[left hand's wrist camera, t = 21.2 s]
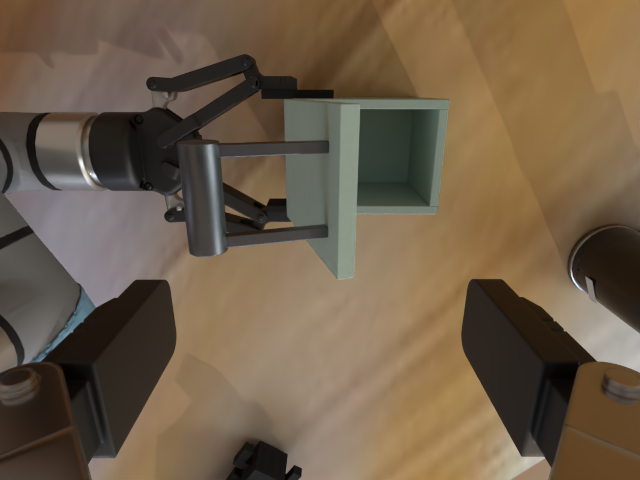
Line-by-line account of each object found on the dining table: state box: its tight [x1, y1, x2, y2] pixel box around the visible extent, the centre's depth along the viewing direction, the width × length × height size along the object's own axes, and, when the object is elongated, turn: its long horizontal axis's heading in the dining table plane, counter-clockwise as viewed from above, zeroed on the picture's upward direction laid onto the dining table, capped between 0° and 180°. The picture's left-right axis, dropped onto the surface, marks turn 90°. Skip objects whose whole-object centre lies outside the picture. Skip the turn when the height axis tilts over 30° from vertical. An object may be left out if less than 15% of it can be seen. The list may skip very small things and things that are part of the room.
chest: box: [293, 97, 449, 214], centre depth 41 cm, size 13×10×11 cm
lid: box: [177, 99, 360, 279], centre depth 28 cm, size 14×10×9 cm
